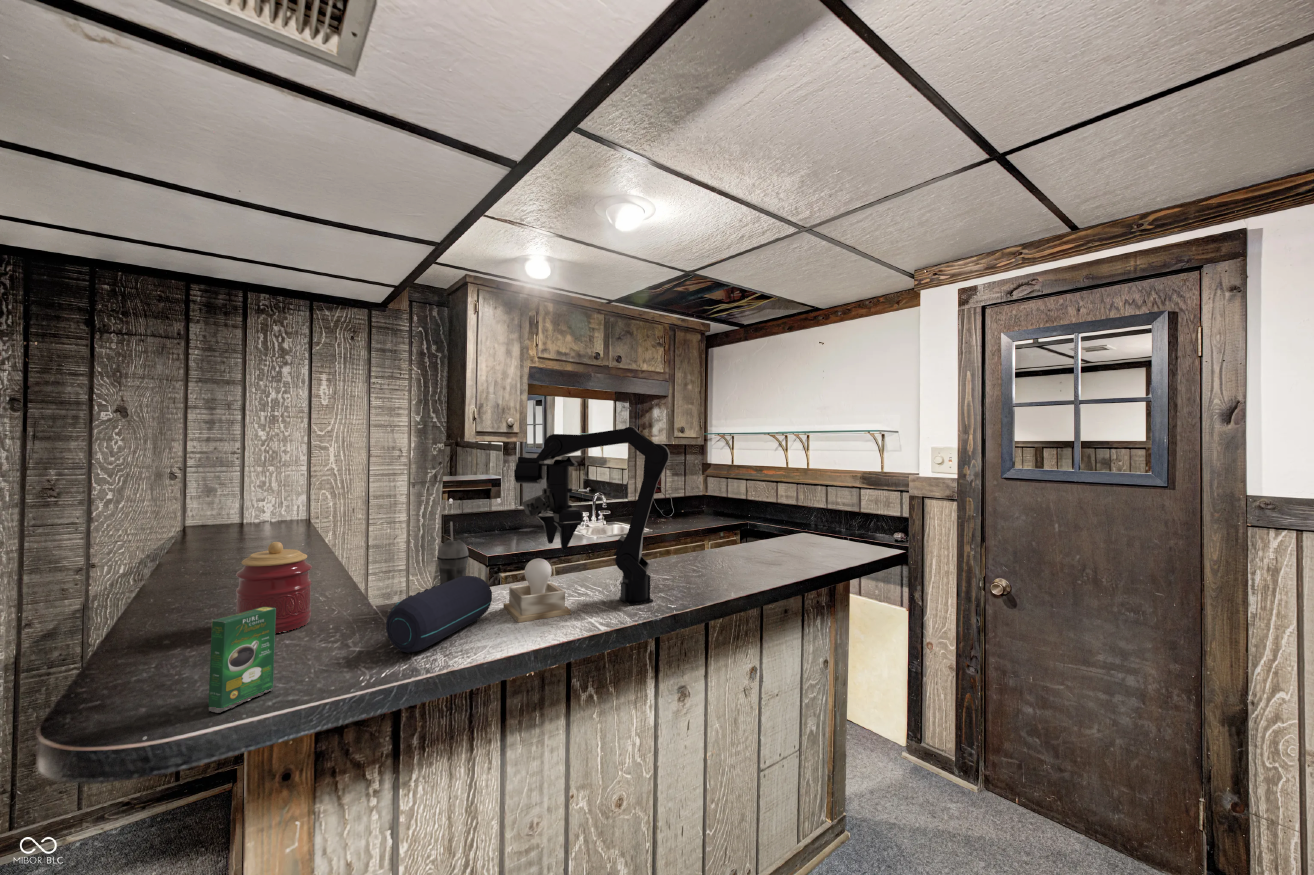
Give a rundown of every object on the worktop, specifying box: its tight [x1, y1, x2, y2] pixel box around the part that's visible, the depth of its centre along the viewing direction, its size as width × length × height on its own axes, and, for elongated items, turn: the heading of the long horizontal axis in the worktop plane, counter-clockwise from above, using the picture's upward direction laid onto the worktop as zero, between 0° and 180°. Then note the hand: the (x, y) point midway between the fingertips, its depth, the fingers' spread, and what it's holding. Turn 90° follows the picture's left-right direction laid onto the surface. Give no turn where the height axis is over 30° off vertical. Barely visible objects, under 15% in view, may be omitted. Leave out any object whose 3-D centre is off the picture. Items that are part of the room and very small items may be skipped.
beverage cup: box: [436, 521, 470, 584], centre depth 130 cm, size 7×7×20 cm
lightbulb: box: [524, 557, 552, 595], centre depth 126 cm, size 6×6×11 cm
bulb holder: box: [503, 581, 572, 623], centre depth 126 cm, size 12×12×5 cm
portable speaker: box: [385, 575, 493, 654], centre depth 110 cm, size 25×10×10 cm, turn 166°
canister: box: [235, 541, 313, 633], centre depth 114 cm, size 13×13×18 cm
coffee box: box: [208, 607, 276, 708], centre depth 81 cm, size 8×3×13 cm, turn 163°
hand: (557, 546), depth 136 cm, fingers open, 9 cm apart
